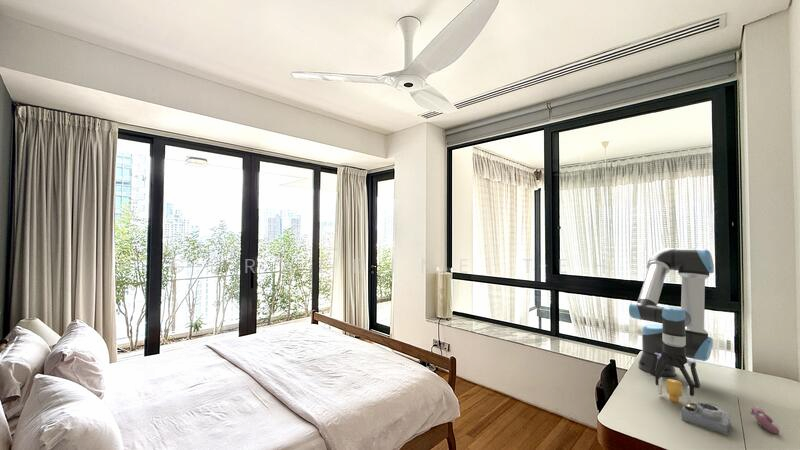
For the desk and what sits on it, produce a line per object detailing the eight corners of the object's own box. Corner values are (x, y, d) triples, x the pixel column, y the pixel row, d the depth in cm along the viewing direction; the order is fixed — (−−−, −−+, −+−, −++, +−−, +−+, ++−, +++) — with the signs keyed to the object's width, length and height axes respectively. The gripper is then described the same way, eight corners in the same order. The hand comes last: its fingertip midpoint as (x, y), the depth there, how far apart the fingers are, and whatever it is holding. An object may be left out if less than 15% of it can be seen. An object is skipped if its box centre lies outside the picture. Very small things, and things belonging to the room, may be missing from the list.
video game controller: (757, 423, 122) (745, 404, 124) (773, 422, 119) (760, 402, 121) (764, 436, 114) (751, 415, 116) (781, 434, 112) (768, 413, 114)
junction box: (681, 419, 120) (681, 403, 121) (687, 410, 127) (687, 395, 128) (726, 435, 111) (726, 418, 111) (730, 424, 118) (730, 408, 118)
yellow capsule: (665, 400, 135) (665, 381, 135) (668, 396, 138) (668, 377, 138) (680, 405, 131) (680, 385, 131) (683, 401, 134) (683, 382, 135)
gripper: (640, 339, 141) (641, 390, 141) (707, 353, 125) (707, 412, 124) (645, 336, 146) (645, 385, 145) (710, 349, 129) (710, 405, 129)
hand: (674, 397), depth 135 cm, fingers open, 9 cm apart
